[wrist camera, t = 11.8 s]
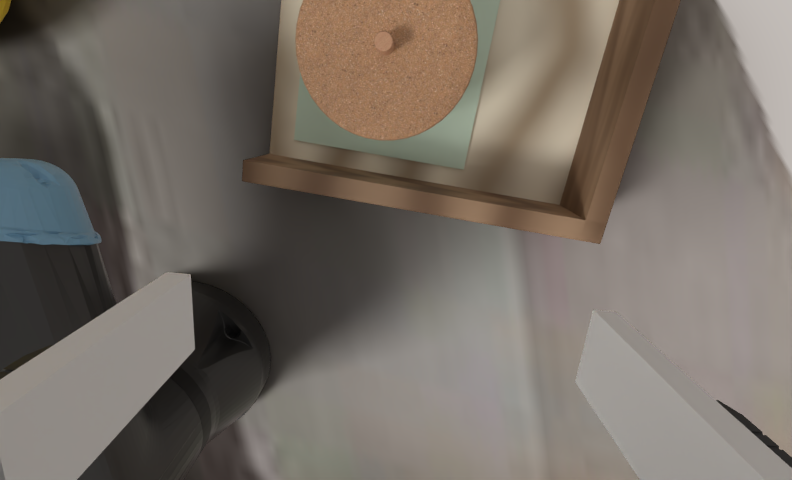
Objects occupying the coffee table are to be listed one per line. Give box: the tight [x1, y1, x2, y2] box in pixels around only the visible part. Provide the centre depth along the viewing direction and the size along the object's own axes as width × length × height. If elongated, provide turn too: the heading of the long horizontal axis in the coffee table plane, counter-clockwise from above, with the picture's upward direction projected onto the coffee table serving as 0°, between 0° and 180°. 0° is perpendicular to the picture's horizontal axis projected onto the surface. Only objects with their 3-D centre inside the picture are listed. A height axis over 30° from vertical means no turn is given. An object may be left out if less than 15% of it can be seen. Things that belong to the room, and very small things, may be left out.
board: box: [269, 0, 619, 205], centre depth 32 cm, size 26×18×1 cm
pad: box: [294, 0, 500, 170], centre depth 31 cm, size 14×14×1 cm
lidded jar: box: [295, 0, 478, 141], centre depth 27 cm, size 11×11×9 cm
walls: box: [242, 0, 681, 244], centre depth 29 cm, size 26×18×6 cm
